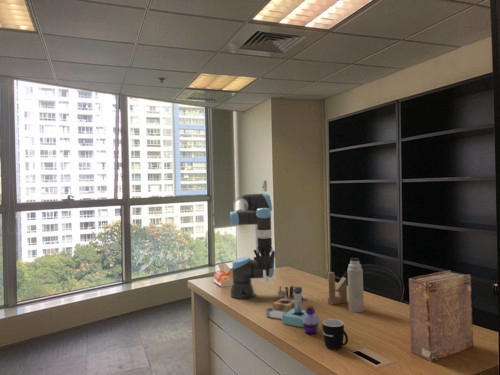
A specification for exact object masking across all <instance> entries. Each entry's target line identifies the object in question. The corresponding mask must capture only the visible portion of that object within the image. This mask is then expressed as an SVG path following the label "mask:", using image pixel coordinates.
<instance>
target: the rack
mask: <svg viewBox="0 0 500 375" xmlns="http://www.w3.org/2000/svg"><path fill="white" fill-rule="evenodd" d="M289 299H290V298H289ZM289 299H285V298H284V297H281V298H279V299H278V300H276V301H275V302H273V303H272V310H278V311H283V312H286V313H287V312H288V311H290V310H291V309H293V308H294V309H295V304H294V299H290V300H289Z"/></svg>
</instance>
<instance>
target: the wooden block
mask: <svg viewBox="0 0 500 375" xmlns="http://www.w3.org/2000/svg"><path fill="white" fill-rule="evenodd" d="M327 275H328V297H327V304H329V305H330V306H333V305H340V304H345V303H348V281H347V278H346V277H344V276H342V277H341V278H340V280H339V281H338V283H337V284H336V273H335V272H334V271H329V272H327ZM337 292H338V293H337ZM336 293H337V294H338V295H336Z"/></svg>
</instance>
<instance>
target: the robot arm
mask: <svg viewBox="0 0 500 375" xmlns="http://www.w3.org/2000/svg"><path fill="white" fill-rule="evenodd" d="M271 199H272V198H271V196H270V195H269V194H268V193H249V194H247V193H246V194H243V195H240V196H239V197H236V198H235V200H234V201H233V204H232V207H233V211H230V212H229V224H230V225H231V226H246V225H247V226H248V225H249V226H250V225H254V234H255V249H254V250H253V252H254V255H253V259H252V258H251V257H249V256H248V257H247V256H245V257H239V258H236V259H234V260H233V261H232V263H231V264H232V265H231V266H232V267H231V270H232V286H231V288H230V289H231V290H230V291H229V292H230V294H229V295H230V297H231V298H233V299H239V300H240V299H241V300H242V299H250V298H252V297H254V296H255V290H254V287H253V284H252V279H262V280H263V283H264V284H265V283H268V282H269V279H270V278H272V277H274V274H275V273H274V271H275V256H276V254H277V250H275V249H273V246H272V245H273V242H272V240H273V237H272V211H273V207H272V200H271Z"/></svg>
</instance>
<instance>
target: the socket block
mask: <svg viewBox="0 0 500 375" xmlns="http://www.w3.org/2000/svg"><path fill="white" fill-rule="evenodd" d="M304 315H307V313H306V310H304V309H302V315H301V316H298V315H295V309H294V308H293V309H291V310H290V311H288V312H287V313H285V314H284V315H282V319H281V321H282V322H281V323H282V324H283V325H289V326H293V327H294V326H295V327H300V328H304V327H303V326H304V325H303V326H302V322H303V321H302V316H304ZM313 315H315V313H313Z"/></svg>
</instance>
